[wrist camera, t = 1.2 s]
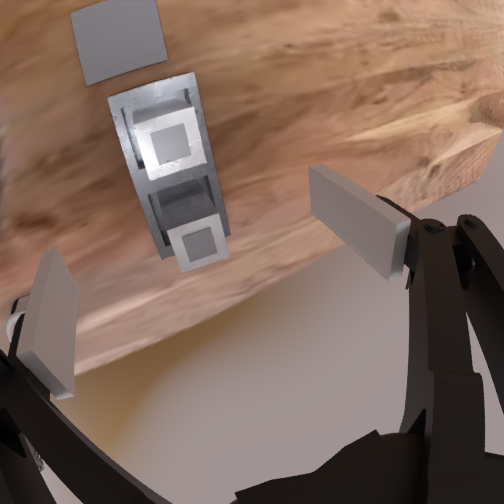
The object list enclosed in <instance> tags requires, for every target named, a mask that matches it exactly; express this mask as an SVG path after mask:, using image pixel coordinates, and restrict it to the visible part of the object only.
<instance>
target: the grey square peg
mask: <svg viewBox="0 0 504 504" xmlns="http://www.w3.org/2000/svg"><path fill="white" fill-rule="evenodd" d="M132 116H133V127H134V131H135V134H136V137H137V141H138V144H139V148H140V151H141V154H142V157H143V161H144V164H145V167H146V170H147V174H148V177H149V180H150V181H151V180H154V179H157V178H160V177H163V176H166V175H169V174H172V173H175V172H178V171H181V170H184V169H187V168H190V167H194V166H197V165H200V164H203V163H207V162H206V158H205V154H204V149H203V145H202V141H201V136H200V132H199V128H198V123H197V119H196V115H195V110H194V106H192V105H190V104H188V103H186V102H184V101H182V100H180V99H178V98H174V99H171V100H167V101H164V102H161V103H157V104H154V105H151V106H148V107H144V108H141V109H138V110H135V111H132Z"/></svg>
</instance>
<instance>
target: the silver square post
mask: <svg viewBox="0 0 504 504" xmlns="http://www.w3.org/2000/svg"><path fill="white" fill-rule="evenodd" d="M157 196H158V200H159V204H160V208H161V212H162V216H163V219H164V223H165V227H166V230H167V233H168V236H169V239H170V242H171V245H172V247H173V250H174V253H175V256H176V258H177V261H178V264H179V266H180V269H181V272H182V273H184V272H187V271H190V270H193V269H196V268H198V267H201V266H204V265H207V264H210V263H212V262H215V261H218V260H221V259H224V258H226V257H229V252H228V248H227V244H226V240H225V236H224V232H223V228H222V224H221V220H220V216H219V212H218V211H217V209H216V208H215V206H214V205H213V203H212V202H211V200H210V198H209V197H208V195H207V194H206V192H205V191H204V189H203V188H202V186H201V184H200V183H199V181H198V180H197V179H194V180H191V181H187V182H184V183H181V184H178V185H175V186H172V187H169V188H166V189H163V190H161V191H158V192H157Z"/></svg>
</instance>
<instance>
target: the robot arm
mask: <svg viewBox="0 0 504 504" xmlns="http://www.w3.org/2000/svg"><path fill="white" fill-rule="evenodd" d="M309 179H310V195H311V213H312V214H313V215H315V216H316V217H317V218H318V219H319V220H320V221H322V222H323V223H324V224H325V225H326V226H327V227H328V228H330V229H331V230H332V231H333V232H334V233H335V234H336V235H338V236H339V237H340V238H341V239H342V240H343V241H344V242H345V243H347V244H348V245H349V246H350V247H351V248H352V249H353V250H354V251H356V252H357V253H358V254H359V255H360V256H361V257H362V258H363V259H364V260H365V261H366V262H368V263H369V264H370V265H371V266H372V267H373V268H374V269H375V270H376V271H377V272H378V273H380V274H381V275H382V276H383V277H384V278H385V279H386V280H387V281H388V282H389V281H391V280H393V279H396V278H398V277H400V276H402V272H403V266H404V264H405V265H406V266H407V267H409V268H410V270H409V275H408V280H407V284H406V289H408V287H409V358H408V376H407V377H408V378H407V390H406V401H405V411H404V416H403V420H402V423H401V426H400V430H399V433H390V434H384V435H379V433H378V432H377V430H374V431H372V432H370V433H369V434H367V435H365V436H364V437H362V438H360V439H358V440H356V441H354V442H353V443H351V444H349V445H347V446H345V447H344V448H342V449H341V450H340V451H339V452H338V453H337V454H335V455H334V456H333V457H332V458H331V459H329V460H328V461H327V462H326V463H325V464H323V465H322V466H321V467H320V468H318V469H317V470H316V471H314V472H312V473H308V474H303V475H297V476H292V477H286V478H280V479H273V480H269V481H267V482H264V483H261V484H259V485H256V486H253V487H250V488H247V489H244V490H241V491H238V492H235V495H236V497H237V499H236V500H235V501H233V502H232V503H230V504H504V456H503V455H498V454H493V453H488V452H485V408H484V389H483V381H482V376H481V375H480V373H475V372H474V371H473V366H472V355H471V346H470V338H469V330H468V323H467V317H466V312H467V315H468V317H469V319H470V322H471V324H472V326H473V329H474V331H475V334H476V336H477V339H478V341H479V344H480V346H481V349H482V352H483V354H484V357H485V360H486V362H487V365H488V368H489V371H490V373H491V377H492V380H493V383H494V386H495V389H496V392H497V395H498V399H499V402H500V405H501V408H502V411H503V414H504V249H503V248H502V246H501V245H500V243H499V242H498V241H497V239H496V238H495V237H494V236H493V234H492V233H491V232H490V230H489V229H488V228H487V226H486V225H485V224H484V223H483V222H482V221H481V220H480V219H479V218H477V217H476V216H474V215H473V216H472V215H470V214H469V215H467V214H465V215H460V216H459V217H458V221H457V226H449V227H446V226H445V225H444V224H443V223H442V222H440V221H438V220H435V219H423V220H420V219H418V218H417V217H415V216H414V215H412V214H411V213H409V212H408V211H406V210H405V209H403V208H401V207H400V206H399V205H397V204H395V203H394V202H392V201H391V200H389V199H388V198H385V197H382V196H379V195H376V196H375V195H373V194H372V193H370V192H368V191H367V190H365V189H364V188H362V187H360V186H359V185H357V184H355V183H354V182H352V181H350V180H349V179H347V178H345V177H344V176H342V175H340V174H339V173H337V172H335V171H334V170H332V169H330V168H328V167H327V166H325V165H323V164H317V165H313V166H309ZM474 262H475V265H474ZM79 291H80V290H79V288H78V286H77V284H76V282H75V281H74V279H73V277H72V275H71V273H70V271H69V270H68V268H67V266H66V264H65V262H64V260H63V258H62V256H61V254H60V252H59V250H58V248H57V246H56V247H54V248H51V249H49V250H46V251H44V253H43V255H42V258H41V261H40V264H39V267H38V271H37V274H36V277H35V280H34V283H33V287H32V290H31V294H30V297H29V301H28V305H27V308H26V312H25V313H23V314H21V315H20V317H19V318H18V320H17V322H16V323H15V327H14V331H13V335H12V339H11V341H12V342H11V344H10V348H9V353H8V357H7V356H6V355H5V353H4V352H3V351H2V350H1V349H0V504H56V502H55V500H54V498H53V496H52V494H51V493H50V491H49V489H48V487H47V485H46V483H45V481H44V479H43V477H42V475H41V473H40V471H39V469H38V467H37V465H36V462H35V460H34V458H33V456H32V454H31V451H30V449H29V447H28V444H27V442H26V439H25V437H26V438H27V440H28V441H29V442H30V444H31V445H32V446H33V448H34V449H35V450H36V451H37V453H38V454H39V455H40V456H41V458H42V459H43V460H44V461H45V462H46V464H47V465H48V466H49V467H50V468H51V470H52V471H53V472H54V473H55V474H56V475H57V476H58V477H59V479H60V480H61V481H62V482H63V483H64V484H65V485H66V486H67V487H68V488H69V489H70V491H71V492H72V493H73V494H74V495H75V496H76V497H77V498H78V499H79V500H80V501H81V502H82V503H84V504H172V503H170V502H169V501H167V500H166V499H164V498H163V497H161V496H160V495H158V494H157V493H155V492H154V491H153V490H151V489H150V488H148V487H147V486H146V485H144V484H143V483H141V482H140V481H139V480H137V479H136V478H135V477H133V476H132V475H131V474H130V473H128V472H127V471H126V470H124V469H123V468H122V467H121V466H119V465H118V464H117V463H115V461H113V460H112V459H111V458H110V457H108V456H107V455H106V454H105V453H104V452H103V451H102V450H100V449H99V448H98V447H97V446H96V445H95V444H94V443H93V442H91V441H90V440H89V439H88V438H87V437H86V436H85V435H84V434H83V433H82V432H80V431H79V429H77V428H76V427H75V426H74V425H73V424H72V423H71V422H70V421H69V420H68V419H67V418H66V417H65V416H64V415H63V414H62V412H61V411H59V409H58V408H57V407H56V406H55V405H54V404H53V403H52V402H51V401H50V392H51V393H52V394H53V395H54V396H55V397H56V398H57V399H58V400H61V399H65V398H69V397H73V396H74V358H75V337H76V322H77V310H78V300H79ZM24 436H25V437H24Z"/></svg>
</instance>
